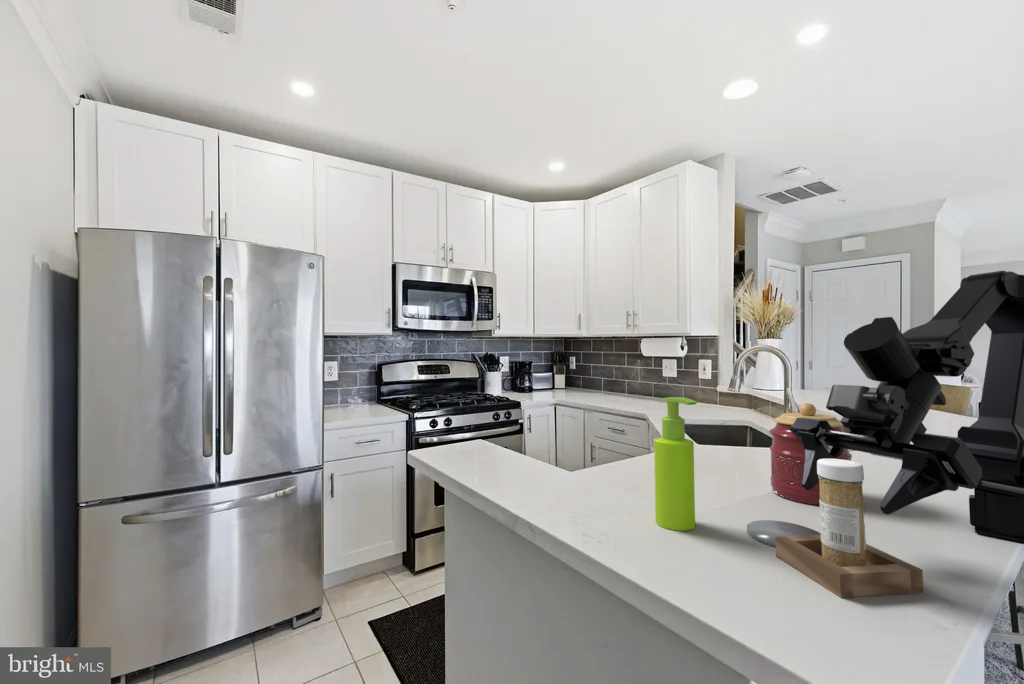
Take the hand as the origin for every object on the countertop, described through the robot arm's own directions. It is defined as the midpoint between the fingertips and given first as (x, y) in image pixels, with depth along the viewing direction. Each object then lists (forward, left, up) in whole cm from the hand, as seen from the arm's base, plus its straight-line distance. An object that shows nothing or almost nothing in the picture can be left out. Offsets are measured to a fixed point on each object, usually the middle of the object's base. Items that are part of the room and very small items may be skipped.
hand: (841, 499), depth 53 cm
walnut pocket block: (0, 0, -9) cm, 9 cm away
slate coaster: (+8, -7, -9) cm, 14 cm away
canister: (+11, -32, -9) cm, 35 cm away
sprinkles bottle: (0, 0, -9) cm, 9 cm away
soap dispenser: (+21, 0, -9) cm, 23 cm away
